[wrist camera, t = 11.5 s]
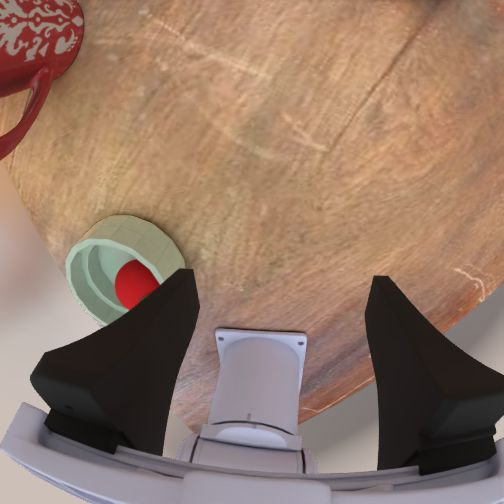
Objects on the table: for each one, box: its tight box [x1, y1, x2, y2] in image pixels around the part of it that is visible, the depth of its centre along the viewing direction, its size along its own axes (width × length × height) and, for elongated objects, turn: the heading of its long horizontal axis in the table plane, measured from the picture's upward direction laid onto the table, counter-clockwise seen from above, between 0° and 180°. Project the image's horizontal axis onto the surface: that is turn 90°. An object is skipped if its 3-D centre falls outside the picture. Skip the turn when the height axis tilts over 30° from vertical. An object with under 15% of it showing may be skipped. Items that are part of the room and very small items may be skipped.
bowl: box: [65, 215, 186, 326], centre depth 23 cm, size 9×9×4 cm
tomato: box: [114, 259, 160, 310], centre depth 23 cm, size 4×4×4 cm
